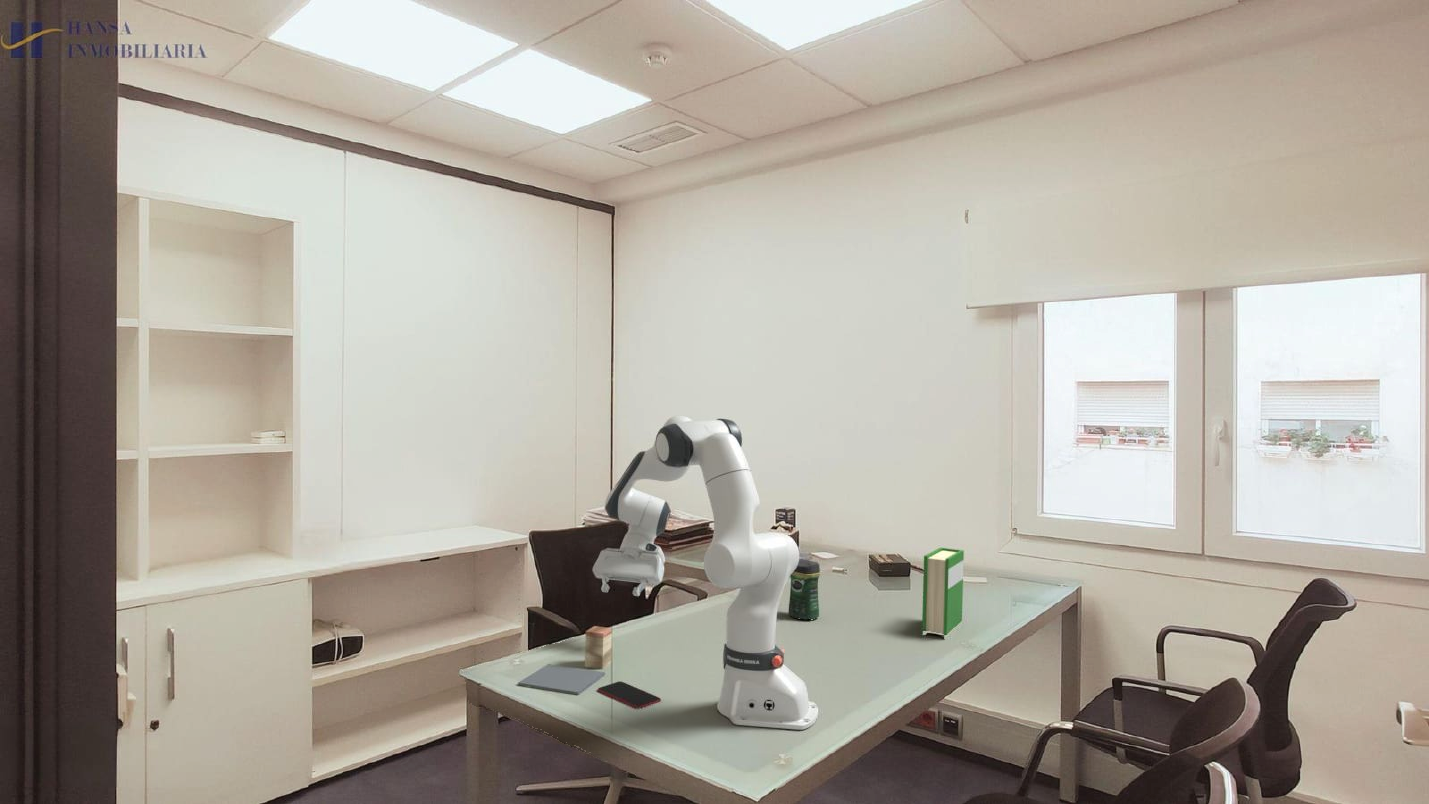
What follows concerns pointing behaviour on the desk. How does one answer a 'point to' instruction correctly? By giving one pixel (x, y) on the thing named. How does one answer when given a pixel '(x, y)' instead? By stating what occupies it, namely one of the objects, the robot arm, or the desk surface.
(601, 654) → the beech block
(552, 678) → the rubber mat
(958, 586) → the hardback book
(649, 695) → the smartphone
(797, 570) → the coffee jar
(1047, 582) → the desk surface
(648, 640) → the desk surface
